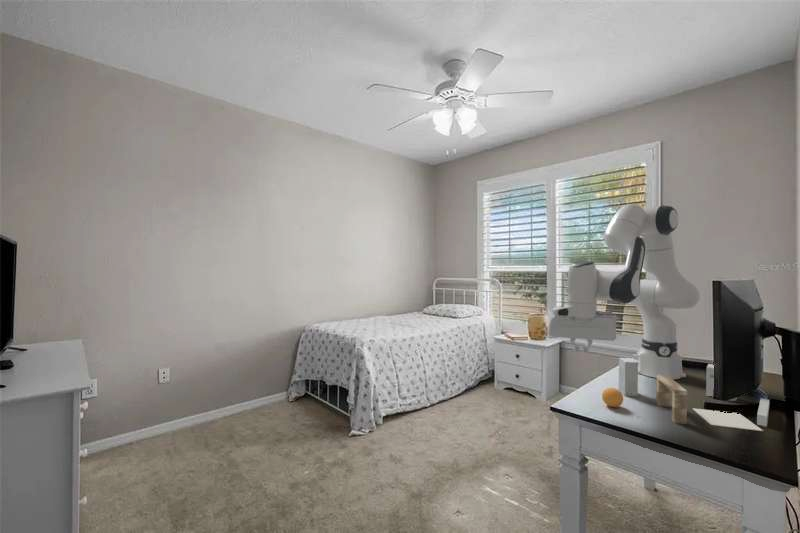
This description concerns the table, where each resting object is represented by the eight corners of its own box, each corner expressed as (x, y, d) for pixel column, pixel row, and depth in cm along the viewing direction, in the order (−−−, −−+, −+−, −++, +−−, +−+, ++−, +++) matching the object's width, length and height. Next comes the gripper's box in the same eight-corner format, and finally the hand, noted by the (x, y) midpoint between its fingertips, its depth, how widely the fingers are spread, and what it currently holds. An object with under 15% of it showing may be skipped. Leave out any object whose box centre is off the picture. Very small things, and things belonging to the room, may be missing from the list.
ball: (600, 401, 123) (600, 384, 123) (620, 404, 121) (620, 386, 121) (604, 408, 117) (604, 390, 117) (625, 411, 116) (625, 392, 115)
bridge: (674, 422, 108) (674, 389, 107) (656, 403, 122) (656, 374, 122) (686, 424, 107) (687, 391, 106) (667, 404, 121) (667, 375, 121)
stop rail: (760, 407, 119) (760, 398, 119) (769, 409, 117) (769, 399, 117) (756, 424, 106) (757, 414, 106) (766, 426, 105) (766, 416, 105)
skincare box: (638, 396, 128) (638, 362, 127) (624, 395, 128) (625, 362, 128) (630, 390, 134) (631, 358, 133) (617, 389, 134) (618, 357, 134)
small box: (738, 398, 126) (738, 368, 126) (736, 402, 122) (737, 371, 122) (707, 392, 132) (708, 363, 132) (705, 396, 128) (706, 366, 128)
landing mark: (692, 408, 117) (692, 408, 117) (739, 413, 114) (739, 413, 114) (711, 425, 106) (711, 424, 106) (763, 431, 102) (763, 430, 102)
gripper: (614, 310, 121) (614, 352, 122) (548, 307, 128) (547, 347, 128) (619, 313, 115) (618, 357, 116) (549, 310, 122) (549, 351, 122)
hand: (580, 351), depth 122 cm, fingers closed
